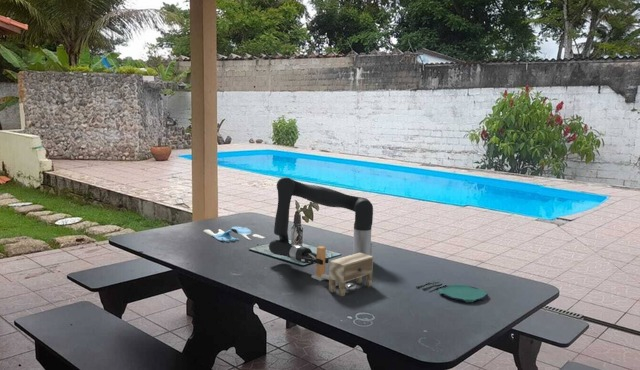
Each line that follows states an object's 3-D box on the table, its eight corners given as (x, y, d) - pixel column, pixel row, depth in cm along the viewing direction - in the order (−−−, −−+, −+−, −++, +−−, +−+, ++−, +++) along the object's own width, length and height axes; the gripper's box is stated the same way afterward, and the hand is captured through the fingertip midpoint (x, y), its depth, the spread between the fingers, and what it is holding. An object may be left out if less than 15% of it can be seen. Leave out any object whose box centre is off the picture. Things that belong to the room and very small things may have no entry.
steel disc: (351, 286, 247) (351, 282, 246) (358, 289, 243) (358, 285, 242) (342, 288, 244) (343, 284, 243) (349, 291, 240) (349, 287, 239)
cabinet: (328, 291, 239) (329, 260, 237) (358, 281, 253) (359, 252, 251) (344, 297, 232) (345, 265, 230) (374, 286, 246) (375, 257, 244)
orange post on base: (310, 277, 256) (310, 247, 254) (322, 274, 262) (322, 244, 259) (334, 286, 245) (335, 254, 243) (346, 282, 250) (347, 251, 248)
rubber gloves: (243, 227, 354) (243, 218, 353) (266, 239, 327) (266, 228, 326) (203, 232, 339) (203, 222, 338) (224, 244, 312) (224, 234, 311)
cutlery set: (471, 308, 224) (472, 302, 224) (412, 290, 245) (412, 285, 245) (494, 297, 238) (495, 291, 238) (436, 280, 259) (436, 276, 259)
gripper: (290, 249, 260) (314, 257, 248) (311, 244, 270) (335, 251, 258) (289, 264, 261) (314, 272, 249) (310, 258, 271) (335, 266, 259)
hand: (325, 261), depth 253 cm, fingers closed on orange post on base, 3 cm apart
